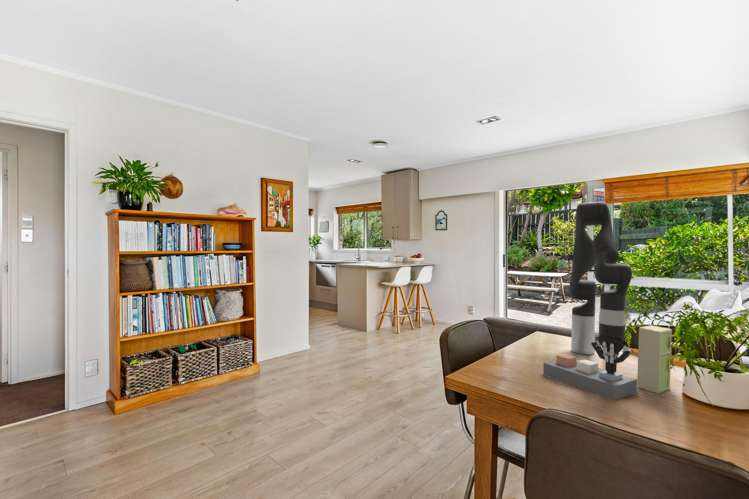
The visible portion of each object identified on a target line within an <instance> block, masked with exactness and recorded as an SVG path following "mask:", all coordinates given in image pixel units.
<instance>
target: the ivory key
mask: <svg viewBox="0 0 749 499" xmlns="http://www.w3.org/2000/svg"><path fill="white" fill-rule="evenodd" d="M598 368H599V362H595V361H592V360H588V359H581V360H577V370H579V371H582V372H585V373H588V374H593V373H597V372H598Z"/></svg>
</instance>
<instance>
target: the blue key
mask: <svg viewBox="0 0 749 499" xmlns="http://www.w3.org/2000/svg"><path fill="white" fill-rule="evenodd" d="M604 370H605V371H602V372H599V377H601V378H604V379H607V380H610V381H613V382H616V381H620V380H622V375H623V374H622V373H621V372H620V373H619V372H617V371H616V372H615V373H614V374H609V373H607V371H606V369H604Z"/></svg>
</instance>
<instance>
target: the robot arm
mask: <svg viewBox="0 0 749 499" xmlns="http://www.w3.org/2000/svg"><path fill="white" fill-rule="evenodd" d="M589 226H591V227H592V226H601V227H600V229H599V231H598V233H597V234H596V236H595V237H594V238H593V239H592V238H591V236H590V235H589V233H588V232H587V230H586V227H589ZM574 233H575V234H574V235H575V236H574V244H573V250H572V251H573V252H572V263H571V264H572V267H571V274H570V279H569V280H570V281H569V285H568V294H569V298H571V299H572V300H577V301H585V303H583V304H580V305H578V306H574V307H572V309H571V344H570V347H571V352H573V353H576V354H579V355H580V354H581V355H593V354H595V352H596V355H598V358H599V359H602V360H603V361H605V369H604V370H606V371H607V373H609V374H614V373H615V372H616V373H617V364H621V363H623V362H625V360H626V359H628V358H629V357H630V356H631V355H632V354H633V353H634V350H633V349H630V348H628V347H627V346H626V345H627V344H626V341H625V339H626V311H625V309H626V308H625V307H626V306H625V305H626V296H627V293H628V292H627V291H628V289H629V286H630V283H631V281H632V277H633V270H632V268H631V267H630V266H629V265H628V264H626V263H618V261H620V254H619V250H618V248H617V245H616V243H615V239H614V231H613V225H612V218H611V212H610V209H609V205H608V204H607V203H606V202H605V201H591V202H590V201H588V202H581V203H579V204H577V206H576V210H575V232H574ZM594 267H595V270H594V279H595V280H596V281H597V282H598V283H599V284H602V285H616V286H615V287H614V289H611V290H603V291H602V292H601V293H600V295H599V297H600V301H599V311H598V337H597V340H596V330H595V328H596V327H595V325H596V324H595V323H596V322H595V321H596V296H597V284H596V282H595V281H594V280H593V279H592V280H587V279H582V277H583V276H585V275H586V274H587V273H588V272H589V271H591V270H592V269H593V268H594ZM620 352H622V354H621V355H620Z"/></svg>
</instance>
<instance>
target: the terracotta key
mask: <svg viewBox="0 0 749 499" xmlns="http://www.w3.org/2000/svg"><path fill="white" fill-rule="evenodd" d="M577 358H578V357H577V356H575V355H572V354H569V353H568V354H567V353H561V354H557V355H556V360H557V364H560V365H563V366H566V367H572V366H576V365H577V361H578V360H577Z"/></svg>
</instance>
